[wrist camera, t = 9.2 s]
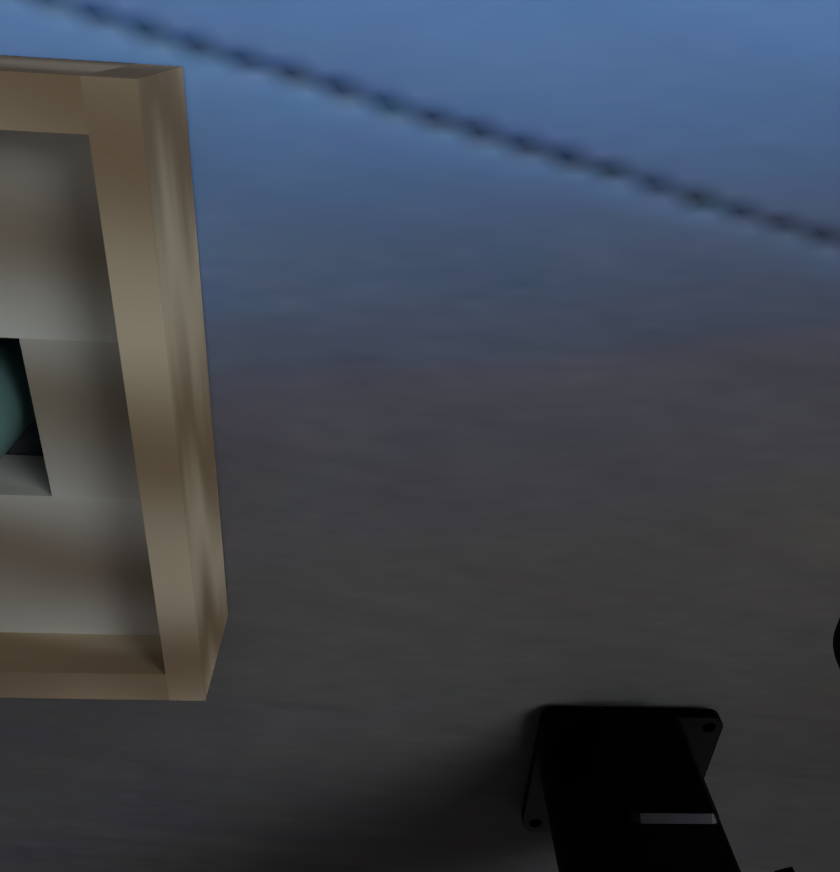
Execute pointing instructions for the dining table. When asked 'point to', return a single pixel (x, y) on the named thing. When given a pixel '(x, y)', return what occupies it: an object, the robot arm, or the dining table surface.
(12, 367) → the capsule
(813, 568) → the dining table surface
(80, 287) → the tray
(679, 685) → the dining table surface
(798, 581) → the dining table surface
